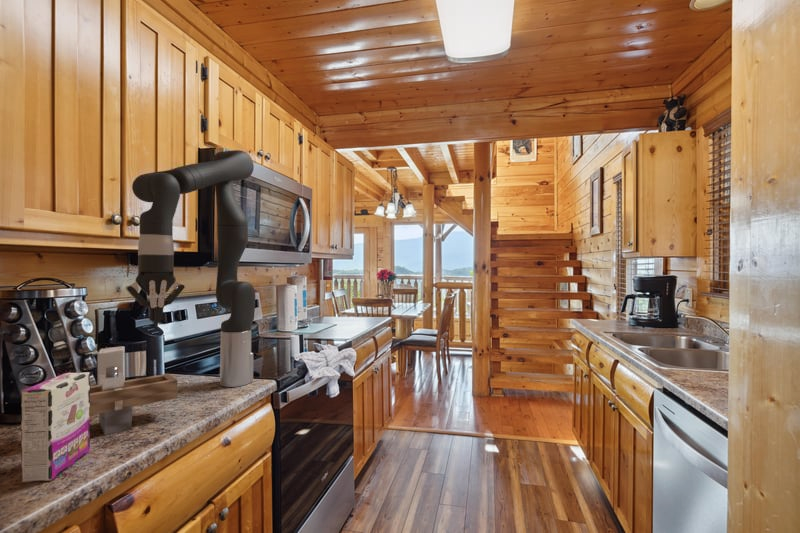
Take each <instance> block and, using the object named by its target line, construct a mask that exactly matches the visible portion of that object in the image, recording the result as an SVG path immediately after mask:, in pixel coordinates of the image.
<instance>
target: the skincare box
mask: <svg viewBox="0 0 800 533" xmlns="http://www.w3.org/2000/svg"><path fill="white" fill-rule="evenodd" d="M125 349H126V348H125V346H114V347H104V348H100V349H98V352H97V385H100V375H106V367H109V366H119V369H118V373H120V372H121V373H122V374H123V375H124V381H126V360H125V359H126V352H125V351H126V350H125Z"/></svg>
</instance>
